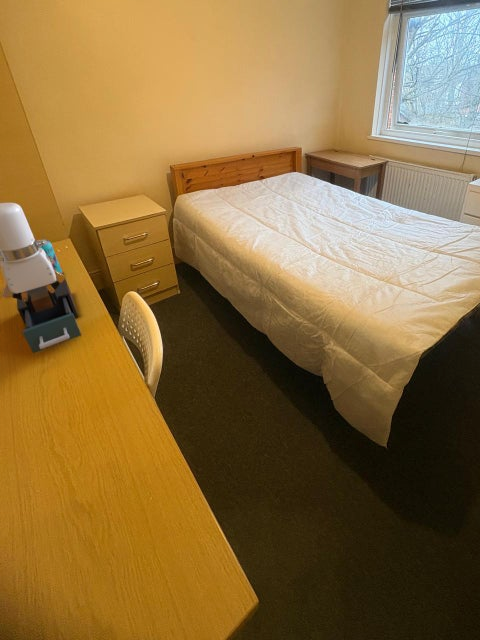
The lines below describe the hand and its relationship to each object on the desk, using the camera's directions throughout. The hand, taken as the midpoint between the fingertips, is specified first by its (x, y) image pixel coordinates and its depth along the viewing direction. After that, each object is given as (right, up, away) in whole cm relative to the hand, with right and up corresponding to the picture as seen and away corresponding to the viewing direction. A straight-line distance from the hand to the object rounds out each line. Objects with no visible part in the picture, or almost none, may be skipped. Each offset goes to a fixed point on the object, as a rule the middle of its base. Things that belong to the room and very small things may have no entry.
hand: (44, 305), depth 91 cm
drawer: (+1, -10, +3) cm, 10 cm away
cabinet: (-8, -5, +13) cm, 16 cm away
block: (0, 0, 0) cm, 0 cm away
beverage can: (-22, +4, +32) cm, 39 cm away
